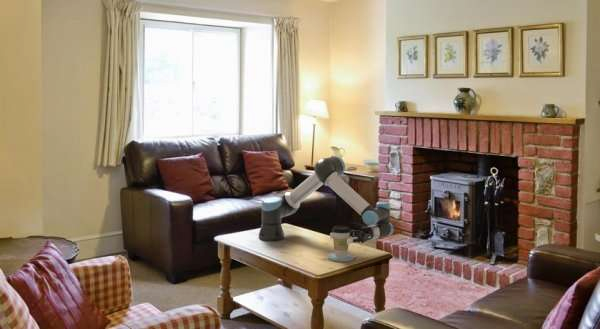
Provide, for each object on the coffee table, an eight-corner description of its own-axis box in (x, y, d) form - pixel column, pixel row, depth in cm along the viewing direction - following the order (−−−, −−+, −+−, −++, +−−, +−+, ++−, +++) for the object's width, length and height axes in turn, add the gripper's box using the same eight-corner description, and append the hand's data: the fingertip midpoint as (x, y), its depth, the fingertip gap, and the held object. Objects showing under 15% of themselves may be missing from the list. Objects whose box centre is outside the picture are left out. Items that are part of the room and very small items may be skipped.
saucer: (328, 253, 312) (329, 251, 312) (355, 255, 310) (355, 252, 310) (326, 261, 298) (326, 258, 298) (353, 262, 296) (353, 260, 296)
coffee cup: (349, 258, 298) (349, 230, 296) (330, 257, 300) (330, 229, 298) (351, 253, 308) (351, 225, 306) (333, 252, 310) (333, 224, 308)
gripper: (385, 244, 304) (354, 251, 292) (353, 234, 324) (323, 240, 312) (385, 230, 303) (354, 236, 291) (354, 221, 323) (324, 226, 311)
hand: (338, 238), depth 302 cm, fingers open, 13 cm apart
